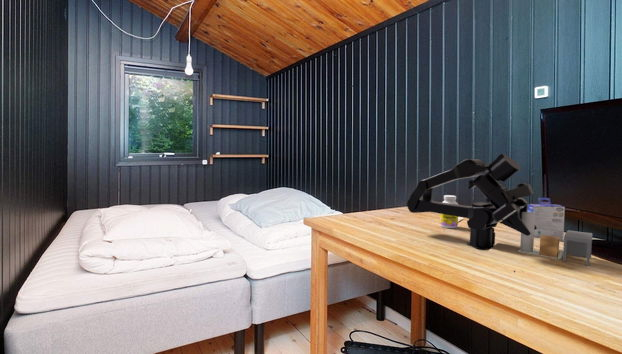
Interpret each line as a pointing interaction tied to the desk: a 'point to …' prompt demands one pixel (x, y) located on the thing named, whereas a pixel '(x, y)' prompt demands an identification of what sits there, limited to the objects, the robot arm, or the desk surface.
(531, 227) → the silver l-shaped stand
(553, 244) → the block
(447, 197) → the supplement bottle
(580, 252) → the tunnel
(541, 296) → the desk surface
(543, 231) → the ink cartridge box
